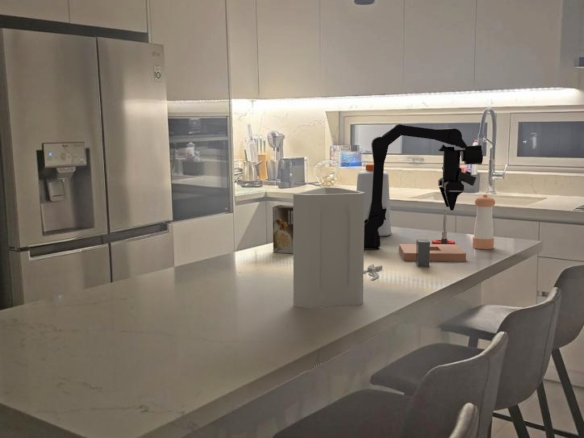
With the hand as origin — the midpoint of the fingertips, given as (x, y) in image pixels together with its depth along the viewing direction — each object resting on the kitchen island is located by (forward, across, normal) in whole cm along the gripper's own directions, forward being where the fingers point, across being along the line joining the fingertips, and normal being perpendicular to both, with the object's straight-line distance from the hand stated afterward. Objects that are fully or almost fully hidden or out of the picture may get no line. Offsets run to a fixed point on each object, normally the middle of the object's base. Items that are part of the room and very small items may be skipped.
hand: (449, 208), depth 234 cm
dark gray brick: (+15, -28, +12) cm, 34 cm away
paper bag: (+15, -70, +40) cm, 82 cm away
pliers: (+15, -40, +30) cm, 52 cm away
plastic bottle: (+15, +31, +26) cm, 43 cm away
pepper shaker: (+15, +4, -13) cm, 20 cm away
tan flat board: (+14, -13, +8) cm, 21 cm away
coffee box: (+15, -9, +57) cm, 59 cm away
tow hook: (+15, +11, 0) cm, 18 cm away
